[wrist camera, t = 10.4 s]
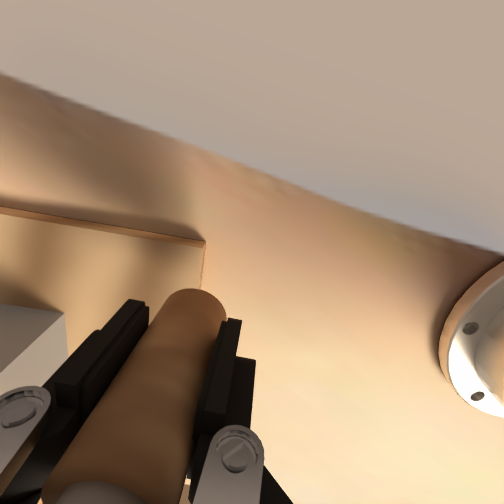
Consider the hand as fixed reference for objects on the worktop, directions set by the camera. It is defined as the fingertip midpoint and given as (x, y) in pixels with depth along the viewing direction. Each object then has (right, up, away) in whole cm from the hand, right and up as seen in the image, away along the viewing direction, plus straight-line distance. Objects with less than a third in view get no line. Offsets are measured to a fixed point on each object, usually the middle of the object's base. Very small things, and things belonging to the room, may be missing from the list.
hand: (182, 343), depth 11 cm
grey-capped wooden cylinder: (0, +1, +2) cm, 2 cm away
